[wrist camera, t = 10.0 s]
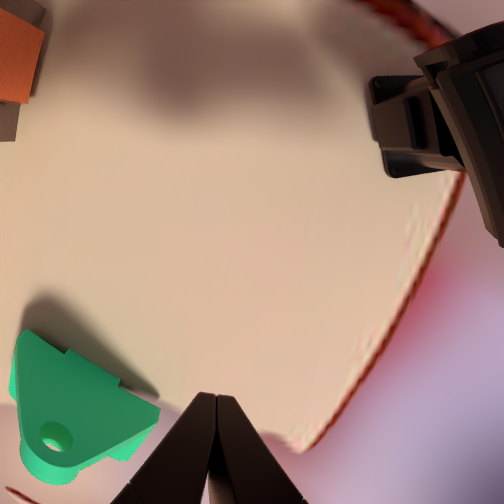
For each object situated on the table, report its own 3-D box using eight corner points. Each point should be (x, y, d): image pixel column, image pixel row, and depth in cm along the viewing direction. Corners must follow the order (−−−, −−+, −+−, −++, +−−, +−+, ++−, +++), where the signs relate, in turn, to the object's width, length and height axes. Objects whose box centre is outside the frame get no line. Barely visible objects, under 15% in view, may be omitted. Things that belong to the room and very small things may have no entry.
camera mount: (20, 378, 22) (-32, 452, 12) (33, 321, 20) (-39, 400, 11) (130, 443, 25) (108, 532, 15) (162, 399, 23) (140, 507, 13)
